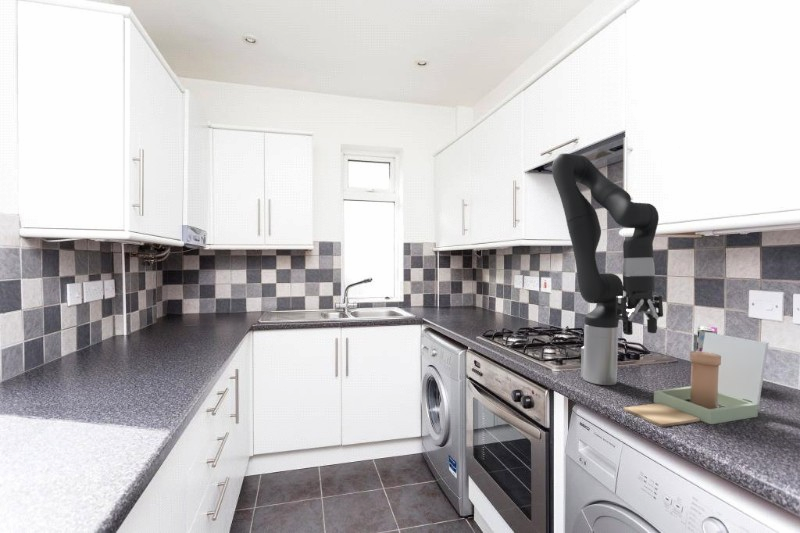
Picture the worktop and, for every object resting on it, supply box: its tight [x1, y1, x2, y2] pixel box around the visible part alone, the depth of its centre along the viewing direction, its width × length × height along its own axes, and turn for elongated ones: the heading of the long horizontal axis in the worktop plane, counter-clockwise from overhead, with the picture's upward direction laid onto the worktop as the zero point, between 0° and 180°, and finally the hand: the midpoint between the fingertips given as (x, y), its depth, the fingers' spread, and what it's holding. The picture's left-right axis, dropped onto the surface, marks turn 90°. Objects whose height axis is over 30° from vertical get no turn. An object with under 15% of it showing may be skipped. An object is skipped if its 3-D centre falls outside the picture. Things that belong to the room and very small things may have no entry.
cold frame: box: [653, 385, 759, 425], centre depth 97 cm, size 14×16×3 cm
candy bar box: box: [696, 325, 718, 351], centre depth 121 cm, size 11×5×16 cm, turn 141°
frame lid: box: [702, 332, 769, 405], centre depth 100 cm, size 14×3×15 cm, turn 18°
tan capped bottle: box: [689, 350, 721, 409], centre depth 97 cm, size 6×6×14 cm
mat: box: [623, 402, 701, 428], centre depth 93 cm, size 10×12×1 cm
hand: (640, 333), depth 105 cm, fingers open, 8 cm apart
